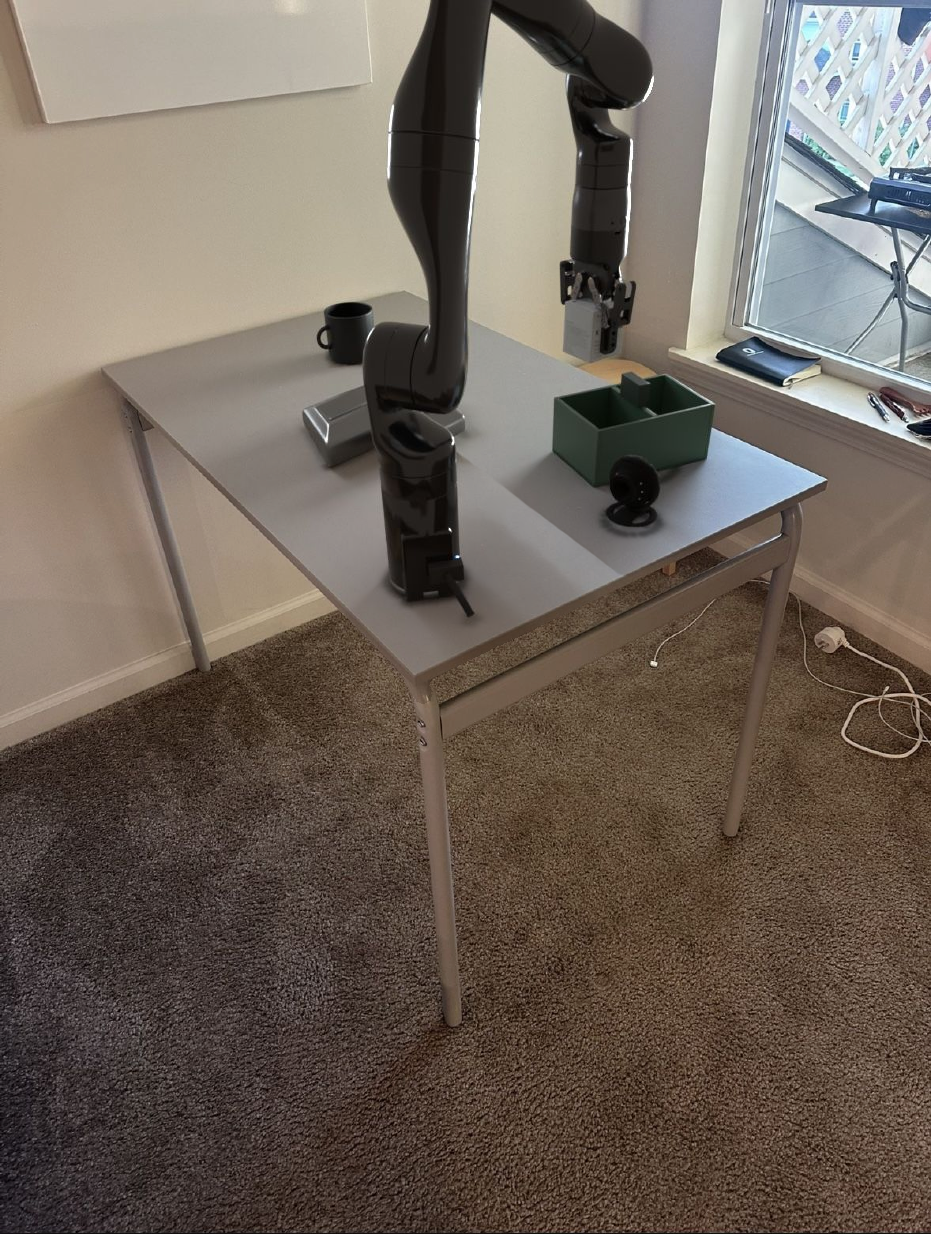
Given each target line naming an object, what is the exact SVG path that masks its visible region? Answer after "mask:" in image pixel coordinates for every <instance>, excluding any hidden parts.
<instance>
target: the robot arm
mask: <svg viewBox="0 0 931 1234" xmlns="http://www.w3.org/2000/svg"><path fill="white" fill-rule="evenodd" d="M491 16H494V17H496V18H497V19H498V20H500V21H501V22H502V23H503V24H505V25H506V26H507V27H509V28H510V29H511V30H512V31H513V32H515V33H516V34H517V35H518V36H519V38H521V39H522V40H523V41H524V42H526V43H527V45H529V46H530V48H532V49H533V50H534V51H535V52H536V53H537V54H538V55H539V56H540V57H541V58H542V59H544V61H545V62H547V64H549V65H550V67H552V68H553V69H555V70H556V71H558V72H560V73H563V74H565V82H564V83H565V84H564V85H565V96H566V103H567V107H568V112H569V117H570V123H571V129H572V133H573V134H572V135H573V138H574V143H575V148H576V151H575V152H576V155H575V169H574V170H575V171H574V188H573V194H572V200H571V201H572V202H571V214H570V215H571V216H570V217H571V218H570V221H571V222H570V238H569V239H570V241H569V256H570V258H569V259H565V260H561V261H560V262H559V290H560V291H559V295H560V303H561V305H562V306H565V302H566V301H569V300H573V299H574V300H577V299H581V298H590V299H591V300H592V301H593V302H594V304H595V309H597V310H599V311H601V312H602V319H601V321H602V326H603V327H602V328H601V340H600V353H602V354H604V355H606V354H609V353H613V352H614V351H615V349H616V347H617V335H618V327H620V326H623V327H624V326H629V325H630V324H631V320H632V315H633V308H634V303H635V297H636V291H637V282H636V281H635V280H629V281H627V280H625V279H624V278H622V273H621V264H622V262H623V261H624V260H625V258H626V257H627V250H628V249H627V248H628V238H629V223H630V213H631V176H632V165H633V161H632V160H633V149H634V148H633V146H634V145H633V139H632V137H631V136H630V134H628V133H627V132H625V131H624V130H622V129H621V128H618V127H617V126H615V125H614V124H613V123H612V120H611V116H610V112H609V110H611V111H619V112H622V111H630V110H633V109H635V108H637V107H639V106H640V105H641V104H642V103H644V102H645V100H646V99H647V98H648V96H649V94H650V93H651V90H652V87H653V84H654V74H655V73H654V64H653V60H652V58H651V55H650V53H649V50H648V49H647V47H646V46H645V45H644V44H643V42H641V41H640V40H639V39H638V38H637V37H636V36H635V35H634V34H632V33H630V32H629V31H628V30H626V29H624V28H623V27H621V26H620V25H618V24H617V23H616V22H614V21H612V20H610V19H609V18H607V17H605V16H603V15H601V14H600V13H598V12H597V10H596V9H595V8H594V7H593V6H592V5H591V4H590V2H588V0H429V5H428V11H427V15H426V18H425V22H424V25H423V28H422V31H421V34H420V37H419V39H418V42H417V44H416V46H415V49H414V51H413V53H412V55H411V57H410V59H409V62H408V64H407V66H406V67H405V70H404V72H403V74H402V77H401V80H400V82H399V84H398V87H397V90H396V92H395V95H394V98H393V101H392V104H391V108H390V113H389V118H388V127H387V129H388V130H387V133H388V135H387V151H386V152H387V154H386V155H387V156H386V188H387V191H388V195H389V199H390V201H391V204H392V207H393V209H394V212H395V214H396V216H397V218H398V220H399V223H400V226H401V227H402V229H403V231H404V233H405V235H406V237H407V240H408V241H409V243H410V245H411V247H412V249H413V252H414V253H415V256H416V258H417V261H418V263H419V266H420V268H421V272H422V274H423V279H424V283H425V286H426V292H427V303H428V324H420V323H412V322H404V321H396V320H384V321H380V322H378V323H376V324H374V327H373V328H372V330H371V331H370V333H369V335H368V337H367V339H366V343H365V346H364V351H363V362H362V365H361V366H362V367H361V368H362V383H363V385H364V389H365V396H366V402H367V408H368V414H369V421H370V428H371V435H372V441H373V444H374V449H375V452H376V454H377V459H378V468H379V480H380V491H381V501H382V511H383V521H384V522H383V523H384V531H385V532H384V533H385V544H386V554H387V561H388V581H389V582H388V583H389V585H390V587H391V588H392V589H393V591H394V592H396V593H398V594H399V595H401V596H404V597H405V599H406V602H414V601H420V600H421V601H422V600H428V599H436V598H443V597H449V596H454V597H455V599H456V600H457V602H458V603H459V605H460V606H461V608H462V610H463V612H464V613H465V615H466V617H467V618H470V617H472V616H474V615H475V611H474V610H473V608H472V606H471V605H470V603H469V602H468V599H467V597H466V596H465V595H464V593H463V591H462V590H461V588H460V587H459V585H460V583H461V582H462V581H465V565H464V561H463V559H462V557H461V549H460V521H459V496H458V468H457V467H458V465H457V464H458V463H457V443H456V439H455V437H454V436H453V435H452V433H451V432H450V431H449V430H448V429H447V428H445V427H444V426H442V425H441V424H439V423H437V422H436V421H434V420H432V419H431V418H429V417H428V416H427V415H425V414H424V413H423V412H426V413H433V414H450V413H452V412H454V411H455V410H456V409H457V408H459V406H460V404H461V402H462V400H463V397H464V394H465V390H466V385H467V381H468V371H469V355H470V354H469V349H470V347H469V345H470V340H469V339H470V262H471V247H472V246H471V245H472V232H473V222H474V211H475V201H476V191H477V182H478V170H479V158H480V145H481V144H480V142H481V124H482V123H481V121H482V120H481V119H482V103H483V91H484V81H485V72H486V61H487V51H488V41H489V40H488V39H489V33H490V24H491ZM569 287H570V293H569ZM610 298H611V303H607V304H604V303H603V301H606V300H608V299H610ZM608 309H612V317H611V318H609V315H608ZM622 311H623V316H621V312H622Z"/></svg>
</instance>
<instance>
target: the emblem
mask: <svg viewBox="0 0 931 1234" xmlns="http://www.w3.org/2000/svg"><path fill="white" fill-rule="evenodd" d="M423 413H424V414H425V415H427V416H428V417H429V418H431V419H432V420H434V421H436V422H437V423H439V424H441V425H442V426H444V427H445V428H447V429H448V430H449V431H450V432H451V433H452V435H453V436H456V435H458V434H461V433H463V432H465V431H466V418H465V415H464V414H463V413H462V411H461V410H460V409H459V407H457V409H456V410H455V411H454V412H452V413H450V414H433V413H426V412H423ZM301 414H302V422H303V425H304V427H305V429H306V431H307V433H308V434H309V435H310V438H311V439H312V441H313V442H314V444H315V446H316V447H317V449H318V451H319V453H320V454H321V456H322V458H323V460H324V461H325V463H326V464H327V466H328V467H329V468H333V467H335V466H337V465H340V464H341V463H342V464H343V463H345V462H346V461H348V460H350V459H352V458H353V459H354V458H355V457H357V456H359V455H361V454H363V453H366V452H368V451H370V450H372V449H375V447H374V444H373V441H372V435H371V428H370V421H369V414H368V408H367V402H366V396H365V389H364V384H363V385H361V386H359V387H355V388H352V389H349V390H347V391H344V392H342V393H339V394H336V395H333V396H331V397H329V398H326V399H324V400H322V401H319V402H317V403H314V404H312V405H309V406H307V407H305V408H303V409H302V412H301Z"/></svg>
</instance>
